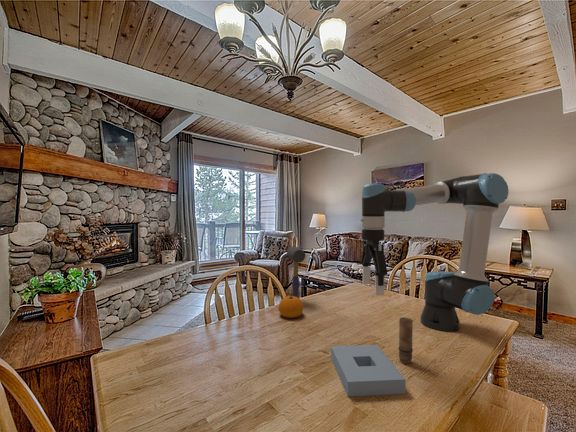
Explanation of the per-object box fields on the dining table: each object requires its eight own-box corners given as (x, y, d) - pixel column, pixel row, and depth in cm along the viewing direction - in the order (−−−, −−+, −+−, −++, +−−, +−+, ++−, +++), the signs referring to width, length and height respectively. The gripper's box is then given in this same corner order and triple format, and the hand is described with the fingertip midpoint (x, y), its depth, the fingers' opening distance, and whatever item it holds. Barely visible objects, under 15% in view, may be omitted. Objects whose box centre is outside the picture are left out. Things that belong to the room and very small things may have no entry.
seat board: (377, 356, 99) (377, 344, 98) (405, 393, 79) (405, 379, 79) (330, 358, 97) (331, 346, 97) (347, 396, 77) (347, 381, 77)
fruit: (307, 314, 138) (307, 293, 138) (295, 322, 128) (295, 299, 128) (287, 309, 144) (287, 289, 144) (273, 316, 135) (273, 295, 134)
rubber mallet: (306, 306, 149) (306, 248, 148) (292, 307, 147) (292, 249, 146) (298, 299, 161) (298, 245, 160) (285, 300, 159) (285, 245, 158)
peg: (408, 358, 98) (409, 317, 97) (415, 365, 93) (415, 322, 93) (396, 358, 97) (396, 317, 97) (402, 365, 93) (402, 322, 93)
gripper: (352, 226, 113) (352, 280, 113) (374, 231, 88) (374, 300, 88) (371, 226, 113) (371, 280, 114) (398, 231, 88) (398, 300, 89)
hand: (372, 289), depth 101 cm, fingers open, 13 cm apart
